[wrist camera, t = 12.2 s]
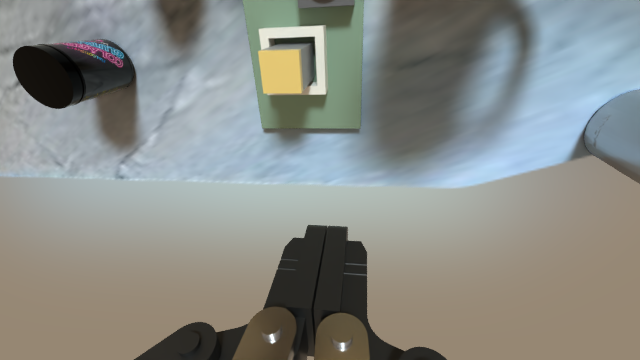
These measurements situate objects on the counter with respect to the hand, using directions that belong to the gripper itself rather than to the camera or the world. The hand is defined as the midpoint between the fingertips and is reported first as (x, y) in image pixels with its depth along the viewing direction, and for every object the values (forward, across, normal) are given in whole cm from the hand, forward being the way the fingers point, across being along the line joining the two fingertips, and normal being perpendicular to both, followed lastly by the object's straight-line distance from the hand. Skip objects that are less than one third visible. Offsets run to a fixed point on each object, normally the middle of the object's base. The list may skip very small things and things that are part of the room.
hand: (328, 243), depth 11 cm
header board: (+31, +6, -5) cm, 32 cm away
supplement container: (+31, +34, -3) cm, 46 cm away
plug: (+30, +7, -3) cm, 31 cm away
